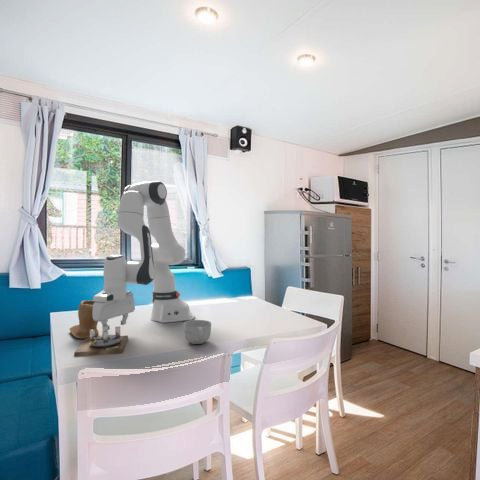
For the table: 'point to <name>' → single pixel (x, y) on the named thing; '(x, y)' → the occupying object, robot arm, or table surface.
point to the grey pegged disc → (104, 338)
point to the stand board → (88, 350)
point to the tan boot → (85, 320)
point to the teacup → (197, 331)
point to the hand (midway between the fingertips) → (115, 327)
